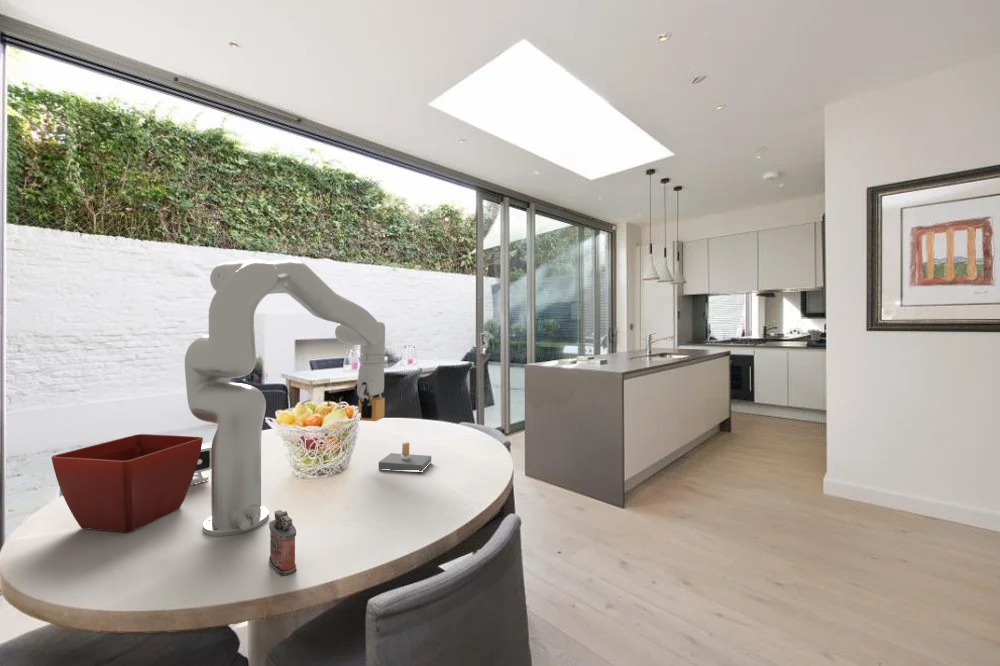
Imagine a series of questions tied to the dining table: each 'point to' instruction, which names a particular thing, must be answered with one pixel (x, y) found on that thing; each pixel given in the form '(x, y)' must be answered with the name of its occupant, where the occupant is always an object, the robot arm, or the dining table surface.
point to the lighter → (282, 544)
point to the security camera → (202, 465)
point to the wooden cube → (374, 409)
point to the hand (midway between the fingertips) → (371, 415)
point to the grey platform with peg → (404, 460)
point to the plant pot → (127, 480)
